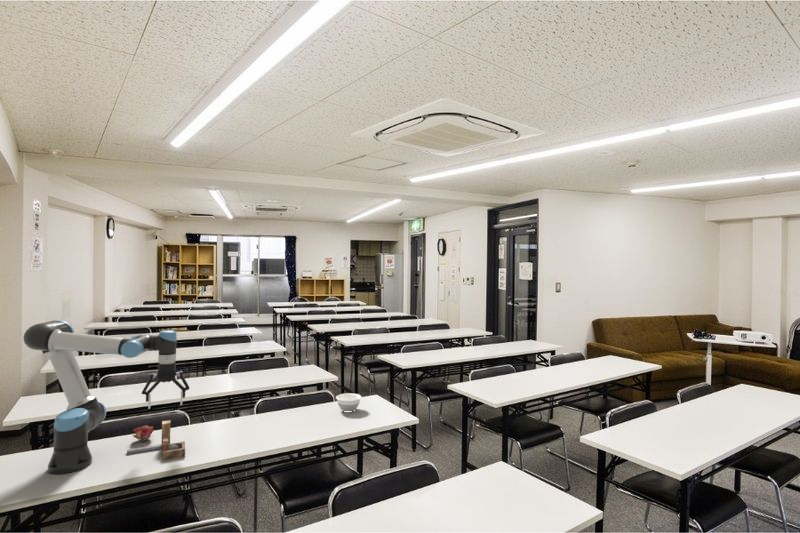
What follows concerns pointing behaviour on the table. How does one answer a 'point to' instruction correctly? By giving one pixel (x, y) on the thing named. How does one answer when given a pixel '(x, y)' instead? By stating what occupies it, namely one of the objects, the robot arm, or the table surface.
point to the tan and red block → (165, 434)
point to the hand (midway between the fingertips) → (165, 406)
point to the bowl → (348, 401)
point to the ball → (173, 447)
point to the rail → (144, 449)
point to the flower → (143, 432)
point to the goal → (174, 451)
